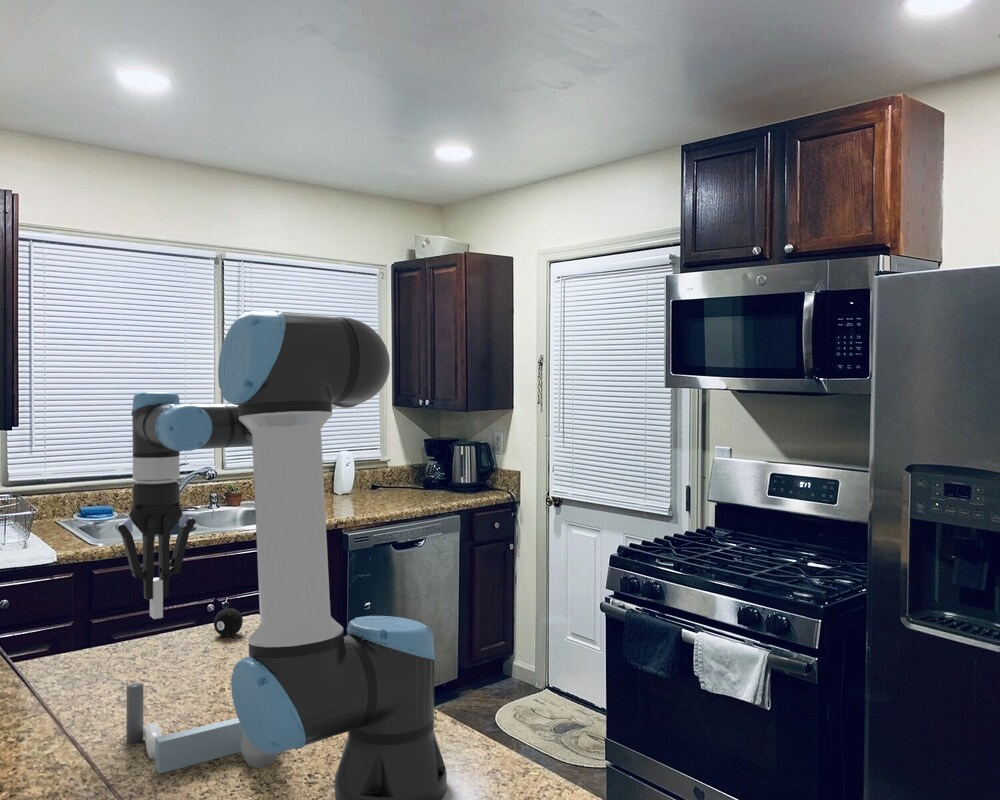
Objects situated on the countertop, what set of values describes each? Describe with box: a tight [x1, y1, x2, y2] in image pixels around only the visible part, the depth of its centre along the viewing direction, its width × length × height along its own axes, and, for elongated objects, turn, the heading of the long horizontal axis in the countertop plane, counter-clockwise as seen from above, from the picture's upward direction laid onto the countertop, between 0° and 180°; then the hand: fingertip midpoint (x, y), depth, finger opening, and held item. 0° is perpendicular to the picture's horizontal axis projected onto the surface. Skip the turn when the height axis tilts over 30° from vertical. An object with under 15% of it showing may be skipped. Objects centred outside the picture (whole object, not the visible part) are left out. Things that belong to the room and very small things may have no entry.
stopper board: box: [154, 717, 244, 775], centre depth 120 cm, size 2×18×4 cm, turn 127°
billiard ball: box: [213, 607, 244, 637], centre depth 180 cm, size 6×6×6 cm
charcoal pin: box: [126, 682, 144, 744], centre depth 125 cm, size 2×2×8 cm
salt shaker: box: [240, 732, 279, 769], centre depth 118 cm, size 6×6×13 cm
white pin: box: [143, 722, 163, 761], centre depth 123 cm, size 2×2×8 cm
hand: (156, 616), depth 140 cm, fingers closed
